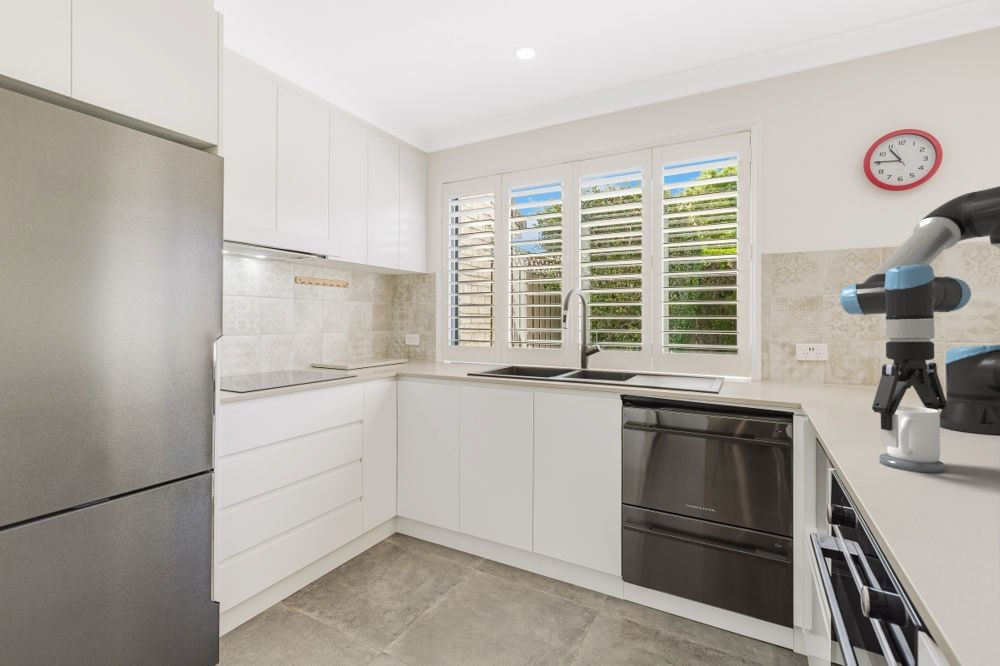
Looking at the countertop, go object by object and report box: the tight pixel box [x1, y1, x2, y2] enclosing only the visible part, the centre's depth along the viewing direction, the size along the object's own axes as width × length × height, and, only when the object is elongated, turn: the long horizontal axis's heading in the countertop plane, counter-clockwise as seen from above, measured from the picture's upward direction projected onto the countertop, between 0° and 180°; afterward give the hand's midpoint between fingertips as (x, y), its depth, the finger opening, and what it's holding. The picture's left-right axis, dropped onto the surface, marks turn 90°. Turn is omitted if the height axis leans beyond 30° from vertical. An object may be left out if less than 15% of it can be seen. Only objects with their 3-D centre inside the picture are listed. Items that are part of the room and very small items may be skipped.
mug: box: [886, 405, 941, 463], centre depth 96 cm, size 12×8×10 cm
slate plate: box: [879, 452, 945, 474], centre depth 96 cm, size 10×10×1 cm
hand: (910, 442), depth 96 cm, fingers open, 13 cm apart
